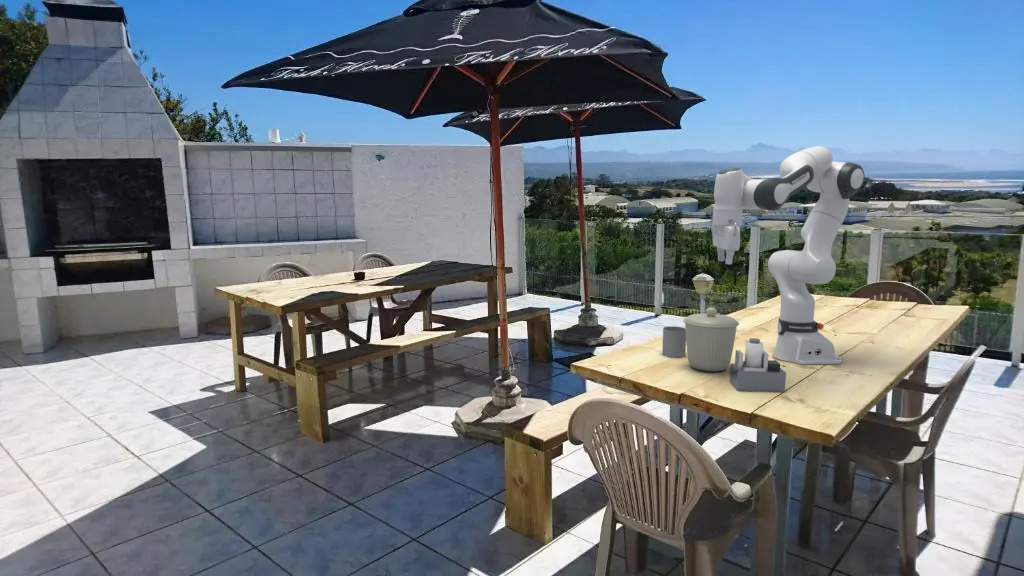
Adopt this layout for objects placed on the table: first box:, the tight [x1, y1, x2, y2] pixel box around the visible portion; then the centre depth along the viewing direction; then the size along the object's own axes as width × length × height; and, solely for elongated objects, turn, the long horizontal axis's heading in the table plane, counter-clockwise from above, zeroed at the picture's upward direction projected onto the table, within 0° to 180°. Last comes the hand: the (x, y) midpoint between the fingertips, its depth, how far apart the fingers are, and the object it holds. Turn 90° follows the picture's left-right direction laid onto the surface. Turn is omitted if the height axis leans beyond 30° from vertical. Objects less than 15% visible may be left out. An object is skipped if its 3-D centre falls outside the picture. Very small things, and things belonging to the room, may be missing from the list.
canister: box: [682, 306, 740, 373], centre depth 206 cm, size 18×18×21 cm
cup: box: [661, 325, 687, 359], centre depth 223 cm, size 8×8×10 cm
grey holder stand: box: [728, 349, 787, 393], centre depth 186 cm, size 14×9×11 cm, turn 85°
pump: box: [744, 337, 764, 368], centre depth 186 cm, size 5×5×9 cm
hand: (724, 262), depth 196 cm, fingers open, 8 cm apart
